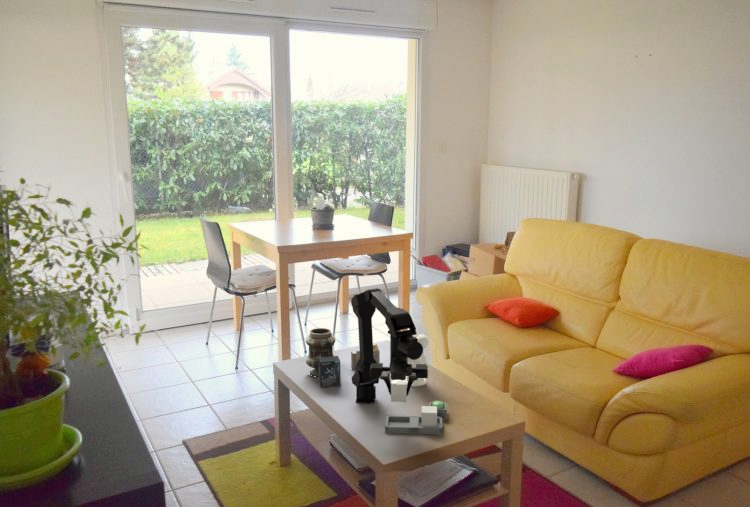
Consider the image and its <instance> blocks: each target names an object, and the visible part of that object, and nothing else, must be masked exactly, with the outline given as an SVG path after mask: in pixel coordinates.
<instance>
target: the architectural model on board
mask: <svg viewBox="0 0 750 507" xmlns="http://www.w3.org/2000/svg"><path fill="white" fill-rule="evenodd" d="M350 354H351V356H350V358H351V360H350V362H351V365H350V367H351V368H352V369H353V370H356V365H357V363H358V361H359V359H360V350H356V353H354V352H353V351H351V353H350ZM380 354H381V353H380V350H379V346H378V344H373V355H374V359H375V361H376V362H377V363H381V361H380V357H381V356H380ZM352 369H351V370H352ZM353 370H352V371H353Z"/></svg>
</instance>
